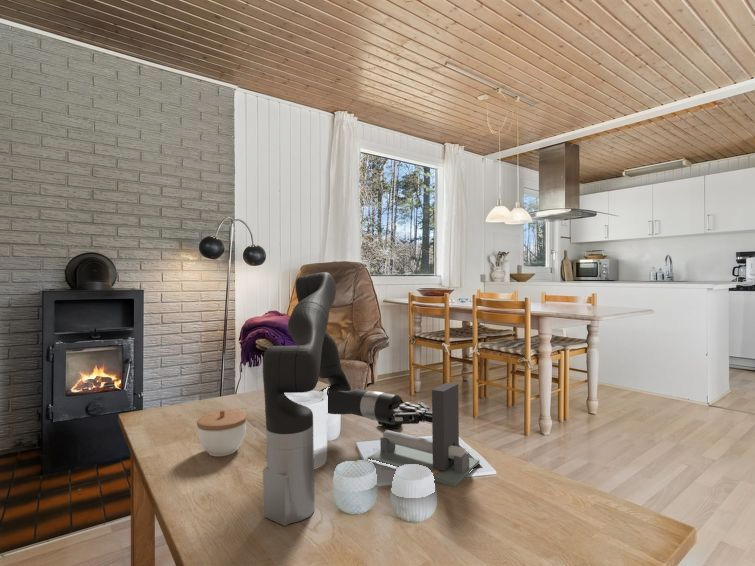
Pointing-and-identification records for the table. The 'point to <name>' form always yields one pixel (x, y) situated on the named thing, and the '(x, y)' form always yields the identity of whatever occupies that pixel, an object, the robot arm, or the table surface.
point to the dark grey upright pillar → (444, 423)
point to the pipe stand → (423, 456)
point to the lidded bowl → (222, 432)
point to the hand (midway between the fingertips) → (440, 418)
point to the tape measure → (389, 425)
